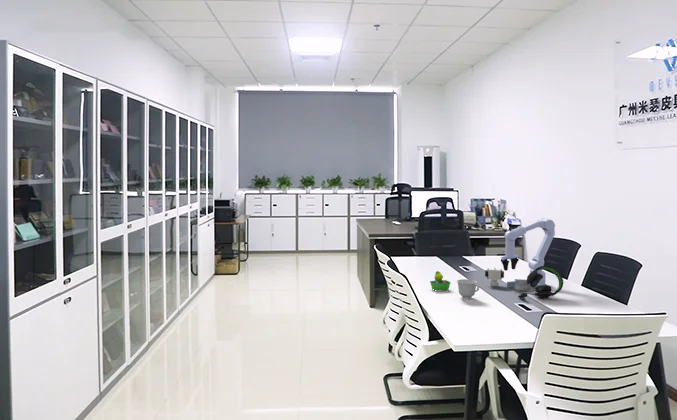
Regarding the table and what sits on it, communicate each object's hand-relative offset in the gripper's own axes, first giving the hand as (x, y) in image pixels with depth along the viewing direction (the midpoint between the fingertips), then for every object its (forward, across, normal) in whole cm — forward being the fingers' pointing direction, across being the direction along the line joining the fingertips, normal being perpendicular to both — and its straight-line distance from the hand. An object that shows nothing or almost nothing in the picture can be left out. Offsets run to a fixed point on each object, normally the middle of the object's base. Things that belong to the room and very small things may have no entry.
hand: (509, 269), depth 320 cm
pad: (+10, -4, -14) cm, 17 cm away
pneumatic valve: (+10, -10, +4) cm, 15 cm away
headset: (+10, -14, -33) cm, 37 cm away
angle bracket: (+10, -5, -15) cm, 19 cm away
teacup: (+10, -50, -11) cm, 52 cm away
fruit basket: (+10, -48, +16) cm, 51 cm away
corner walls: (+10, -2, -13) cm, 16 cm away
